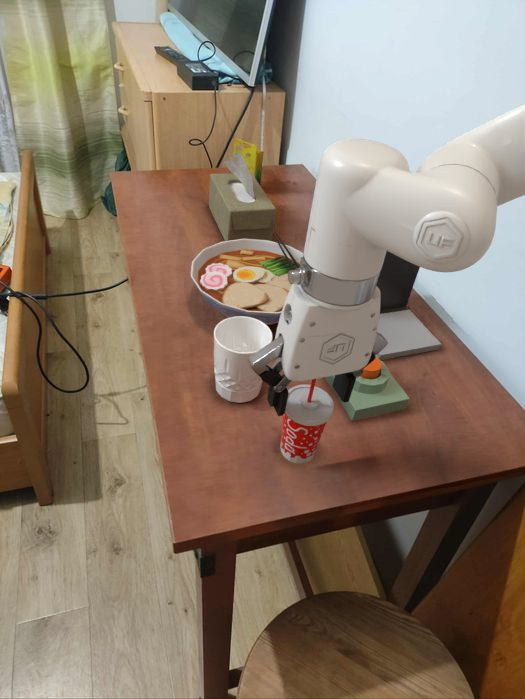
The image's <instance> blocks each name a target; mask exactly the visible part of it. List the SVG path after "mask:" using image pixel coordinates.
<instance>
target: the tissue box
mask: <svg viewBox="0 0 525 699" xmlns="http://www.w3.org/2000/svg"><path fill="white" fill-rule="evenodd" d="M223 164H224V165H225V167H226V168H227V169H228V170H229V172H231V173H210V174H209V194H208V195H209V196H208V200H209V201H208V209H209V210H210V212H211V215H212V216H213V217H212V218H213V219H214V222H215V223H216V225H217V228H218V230H219V232H220V233H221V236H222V239H223V240H224V241H231V240H238V239H256V240H268V241H272V242H273V239H274V235H273V233H274V232H275V223H276V216H277V214H276V213H277V208H276V206H275V205H274V204H273V203H272V201H271V199H270V198H269V197H268V195H267V193H266V192H265V191H264V189H263V188H262V186H260V185H259V183H258V182H257V180H256V179H255V177H254V176H253V174H252V173H250V172H249V169H248V167H247V165H246V162H245V160H244V158H243V156H242V154H241V153H238V154H237V155H235V156H234V157H233V156H231V157H230V158H228V159H227V160H224V161H223Z"/></svg>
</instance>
